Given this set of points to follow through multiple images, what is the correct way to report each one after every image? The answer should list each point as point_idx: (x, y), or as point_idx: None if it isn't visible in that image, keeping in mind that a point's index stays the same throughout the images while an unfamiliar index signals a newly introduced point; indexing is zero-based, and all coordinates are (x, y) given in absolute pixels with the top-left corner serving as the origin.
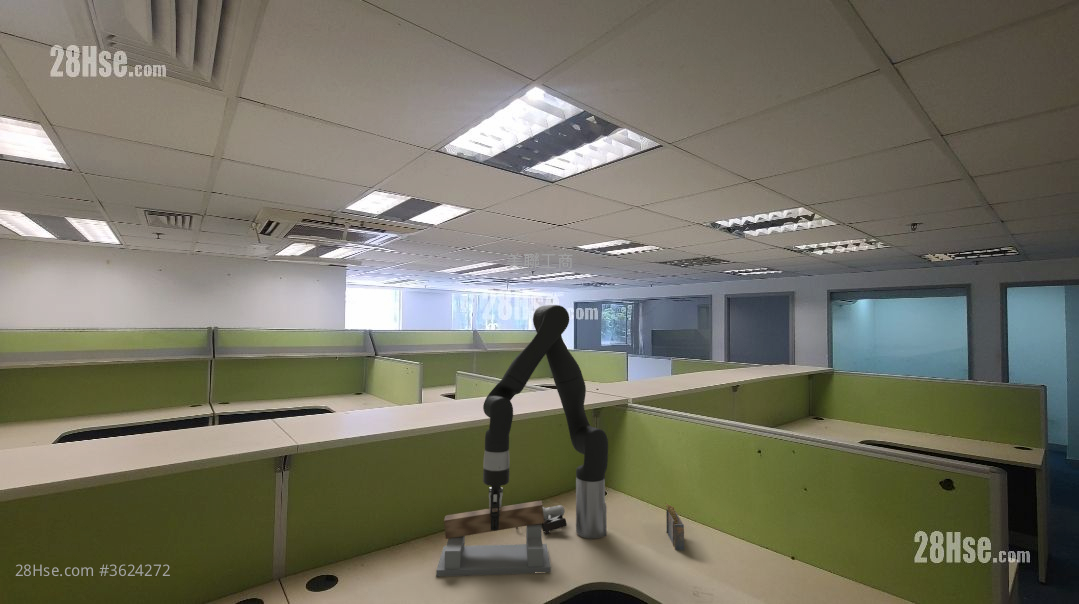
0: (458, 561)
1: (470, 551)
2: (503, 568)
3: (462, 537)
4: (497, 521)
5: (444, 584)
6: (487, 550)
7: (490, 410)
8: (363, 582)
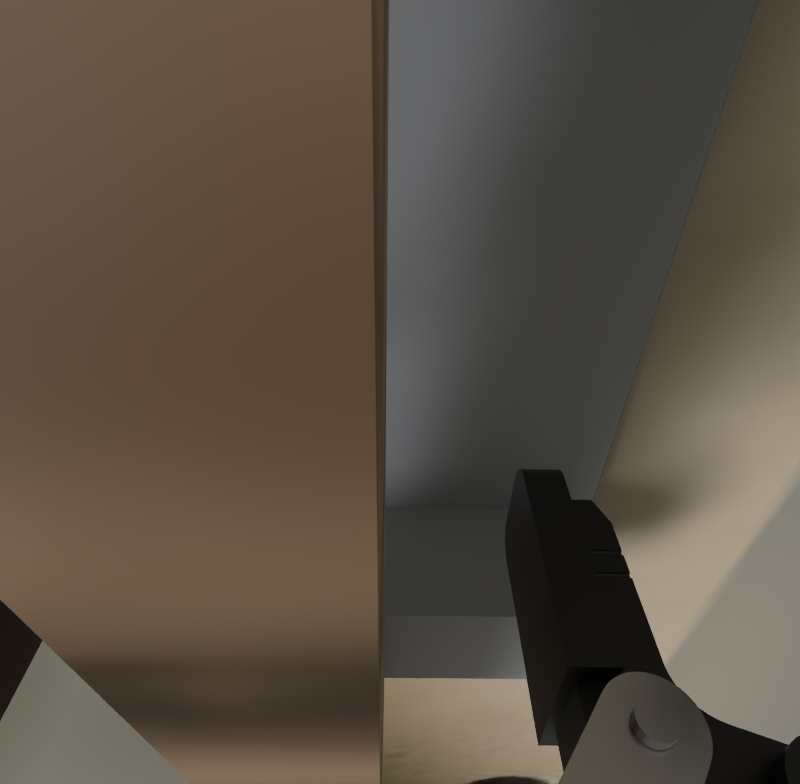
0: None
1: None
2: (686, 215)
3: None
4: (588, 594)
5: (650, 534)
6: None
7: None
8: (530, 737)
